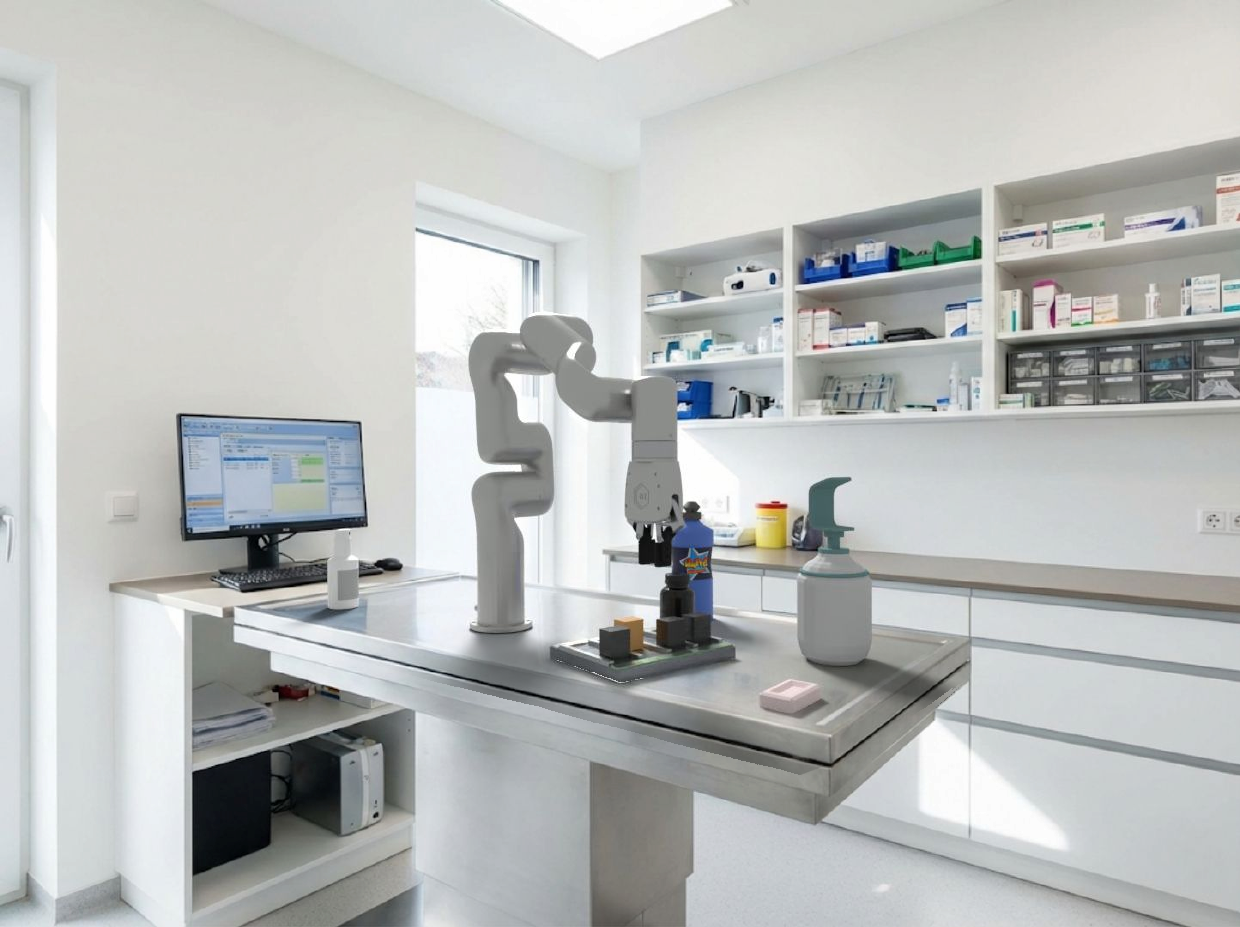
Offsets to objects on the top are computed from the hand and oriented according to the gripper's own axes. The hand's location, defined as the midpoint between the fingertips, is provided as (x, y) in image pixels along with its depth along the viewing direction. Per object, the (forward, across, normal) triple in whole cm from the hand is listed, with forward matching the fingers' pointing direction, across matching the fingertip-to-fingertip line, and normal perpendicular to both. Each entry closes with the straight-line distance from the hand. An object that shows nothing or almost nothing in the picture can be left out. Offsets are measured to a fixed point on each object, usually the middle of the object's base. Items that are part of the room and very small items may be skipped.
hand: (654, 564), depth 131 cm
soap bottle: (+17, +14, +28) cm, 36 cm away
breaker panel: (+17, -7, +3) cm, 19 cm away
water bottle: (+17, -26, +32) cm, 45 cm away
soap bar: (+18, +25, +4) cm, 31 cm away
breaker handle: (+15, -7, 0) cm, 17 cm away
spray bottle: (+17, -86, -22) cm, 90 cm away
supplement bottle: (+17, -16, +19) cm, 30 cm away
